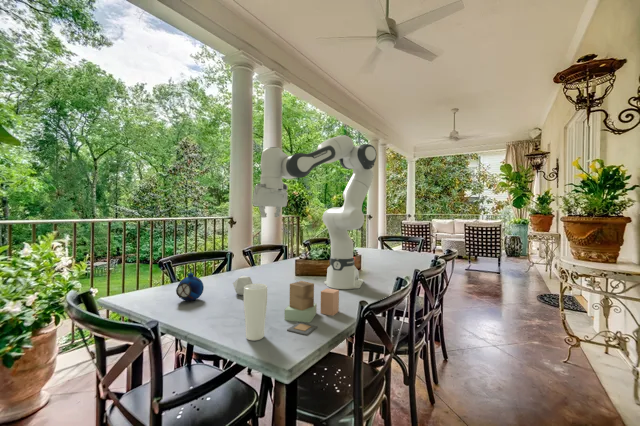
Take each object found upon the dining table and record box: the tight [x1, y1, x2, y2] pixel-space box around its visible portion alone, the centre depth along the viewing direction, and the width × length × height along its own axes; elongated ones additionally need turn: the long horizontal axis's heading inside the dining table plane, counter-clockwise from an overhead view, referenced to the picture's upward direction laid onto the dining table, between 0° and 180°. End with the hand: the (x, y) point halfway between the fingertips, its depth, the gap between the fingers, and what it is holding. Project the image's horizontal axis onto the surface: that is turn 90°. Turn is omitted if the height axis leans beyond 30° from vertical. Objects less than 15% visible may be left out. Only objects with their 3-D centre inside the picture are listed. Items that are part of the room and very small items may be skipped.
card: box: [286, 321, 318, 336], centre depth 93 cm, size 7×7×1 cm
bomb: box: [175, 264, 204, 302], centre depth 119 cm, size 10×11×15 cm
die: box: [232, 275, 254, 297], centre depth 130 cm, size 8×9×10 cm
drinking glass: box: [243, 283, 268, 342], centre depth 86 cm, size 7×7×15 cm
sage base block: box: [284, 302, 317, 324], centre depth 104 cm, size 9×9×4 cm
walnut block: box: [289, 280, 315, 311], centre depth 103 cm, size 6×6×8 cm
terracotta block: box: [320, 287, 340, 316], centre depth 108 cm, size 5×5×8 cm
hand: (270, 217), depth 127 cm, fingers open, 8 cm apart
